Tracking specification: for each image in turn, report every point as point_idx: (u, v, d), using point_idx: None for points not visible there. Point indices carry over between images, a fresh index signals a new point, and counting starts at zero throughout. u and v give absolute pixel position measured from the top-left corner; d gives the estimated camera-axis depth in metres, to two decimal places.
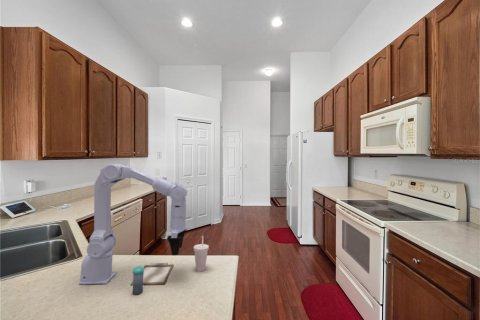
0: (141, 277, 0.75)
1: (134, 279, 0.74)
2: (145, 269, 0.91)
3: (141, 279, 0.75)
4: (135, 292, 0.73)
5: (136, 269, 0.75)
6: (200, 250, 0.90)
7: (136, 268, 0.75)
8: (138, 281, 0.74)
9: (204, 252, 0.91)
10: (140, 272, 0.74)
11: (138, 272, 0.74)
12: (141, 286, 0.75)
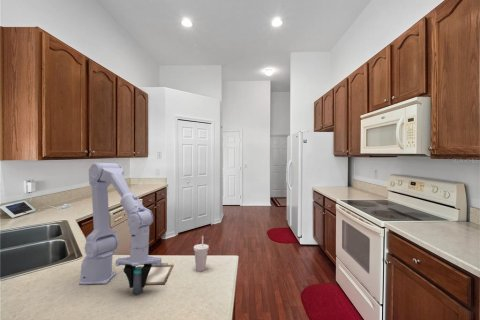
0: (141, 277, 0.75)
1: (134, 279, 0.74)
2: None
3: (141, 279, 0.75)
4: (135, 292, 0.73)
5: (136, 269, 0.75)
6: (200, 250, 0.90)
7: (136, 268, 0.75)
8: (138, 281, 0.74)
9: (204, 252, 0.91)
10: (140, 272, 0.74)
11: (138, 272, 0.74)
12: (141, 286, 0.75)
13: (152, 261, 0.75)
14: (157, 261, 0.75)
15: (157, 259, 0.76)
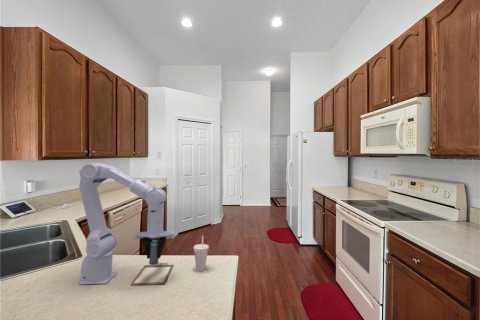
0: (157, 249, 0.83)
1: (151, 250, 0.82)
2: (145, 269, 0.91)
3: (157, 251, 0.83)
4: (151, 262, 0.81)
5: (152, 242, 0.83)
6: (200, 250, 0.90)
7: (152, 241, 0.83)
8: (154, 252, 0.82)
9: (204, 252, 0.91)
10: (156, 244, 0.82)
11: (154, 244, 0.82)
12: (157, 257, 0.83)
13: (167, 234, 0.83)
14: (171, 235, 0.83)
15: None
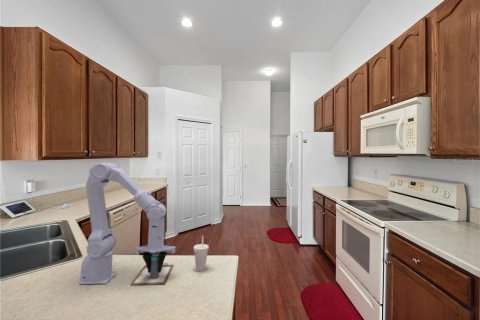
0: (158, 263, 0.84)
1: (152, 265, 0.83)
2: (145, 269, 0.91)
3: (158, 265, 0.84)
4: (152, 277, 0.83)
5: (153, 256, 0.84)
6: (200, 250, 0.90)
7: (153, 255, 0.85)
8: (155, 266, 0.83)
9: (204, 252, 0.91)
10: (157, 259, 0.84)
11: (155, 259, 0.83)
12: None
13: (167, 249, 0.84)
14: (172, 249, 0.85)
15: (172, 247, 0.86)
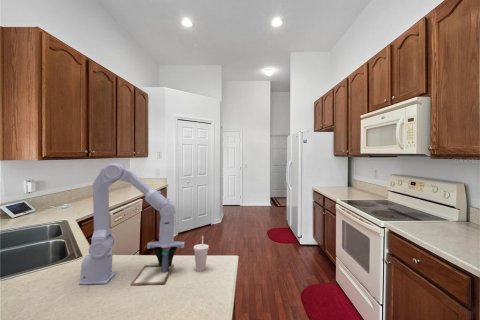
0: (168, 258, 0.90)
1: (163, 259, 0.89)
2: (145, 269, 0.91)
3: (168, 259, 0.90)
4: (163, 270, 0.88)
5: (164, 251, 0.90)
6: (200, 250, 0.90)
7: (164, 250, 0.90)
8: (166, 260, 0.89)
9: (204, 252, 0.91)
10: (167, 253, 0.89)
11: (166, 253, 0.89)
12: (168, 265, 0.90)
13: (177, 244, 0.90)
14: (181, 244, 0.90)
15: (181, 243, 0.91)
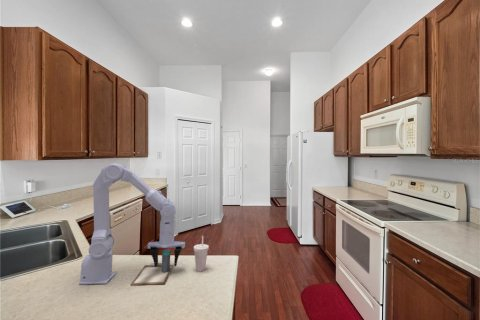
0: (169, 258, 0.90)
1: (163, 259, 0.89)
2: (145, 269, 0.91)
3: (168, 259, 0.90)
4: (164, 270, 0.88)
5: (164, 251, 0.90)
6: (200, 250, 0.90)
7: (164, 250, 0.90)
8: (166, 261, 0.89)
9: (204, 252, 0.91)
10: (168, 254, 0.89)
11: (166, 253, 0.89)
12: (168, 265, 0.90)
13: (178, 244, 0.90)
14: (182, 244, 0.90)
15: (181, 243, 0.91)
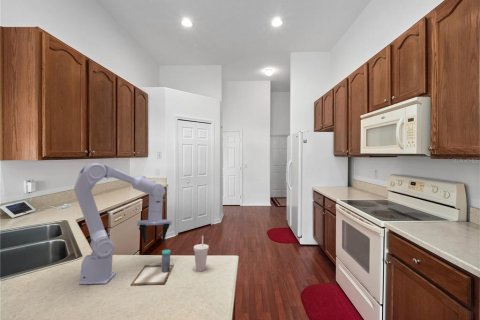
0: (169, 258, 0.90)
1: (163, 259, 0.89)
2: (145, 269, 0.91)
3: (168, 259, 0.90)
4: (164, 270, 0.88)
5: (164, 251, 0.90)
6: (200, 250, 0.90)
7: (164, 250, 0.90)
8: (166, 261, 0.89)
9: (204, 252, 0.91)
10: (168, 254, 0.89)
11: (166, 253, 0.89)
12: (168, 265, 0.90)
13: (166, 221, 0.97)
14: (169, 222, 0.98)
15: (169, 220, 0.99)
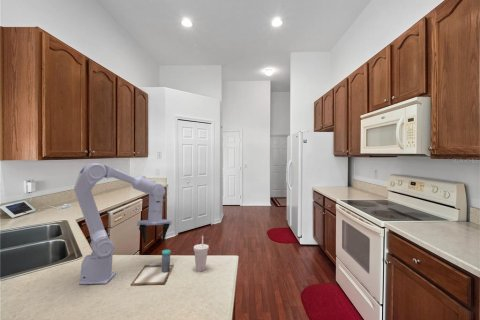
0: (169, 258, 0.90)
1: (163, 259, 0.89)
2: (145, 269, 0.91)
3: (168, 259, 0.90)
4: (164, 270, 0.88)
5: (164, 251, 0.90)
6: (200, 250, 0.90)
7: (164, 250, 0.90)
8: (166, 261, 0.89)
9: (204, 252, 0.91)
10: (168, 254, 0.89)
11: (166, 253, 0.89)
12: (168, 265, 0.90)
13: (166, 221, 0.97)
14: (169, 222, 0.98)
15: (169, 220, 0.99)
